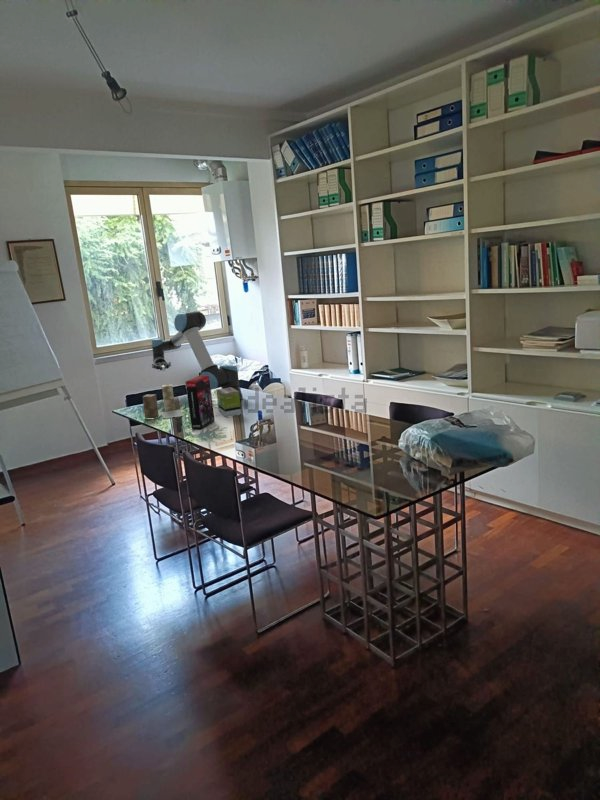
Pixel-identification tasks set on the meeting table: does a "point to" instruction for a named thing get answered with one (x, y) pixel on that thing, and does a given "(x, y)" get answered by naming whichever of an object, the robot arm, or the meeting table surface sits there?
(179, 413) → the grey felt mat
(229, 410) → the tea box
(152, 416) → the walnut block
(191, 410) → the graphics card box
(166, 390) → the beech block
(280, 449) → the meeting table surface
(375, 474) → the meeting table surface
